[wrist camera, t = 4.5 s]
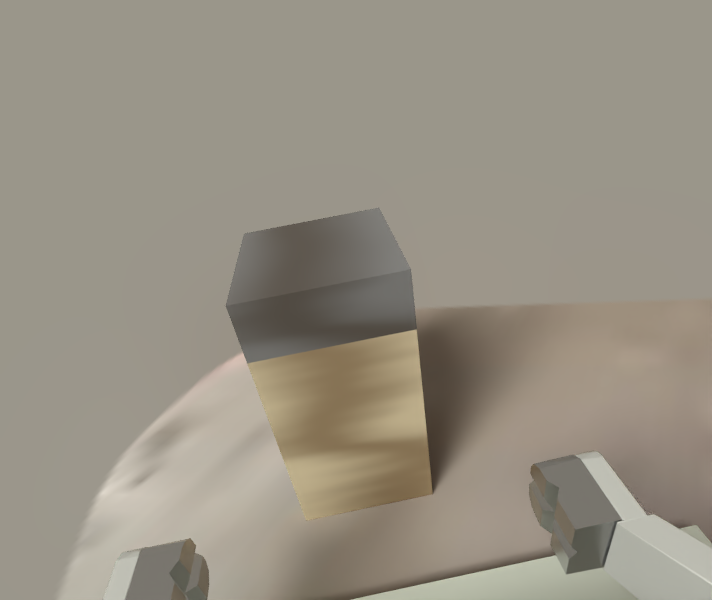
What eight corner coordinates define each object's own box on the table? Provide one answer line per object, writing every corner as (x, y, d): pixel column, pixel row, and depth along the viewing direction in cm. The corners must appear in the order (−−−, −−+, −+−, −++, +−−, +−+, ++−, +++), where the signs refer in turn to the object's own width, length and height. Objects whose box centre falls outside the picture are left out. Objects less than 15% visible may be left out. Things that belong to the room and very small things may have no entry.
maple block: (404, 402, 21) (378, 207, 16) (432, 494, 17) (411, 269, 11) (303, 423, 21) (244, 233, 16) (306, 520, 17) (225, 305, 11)
